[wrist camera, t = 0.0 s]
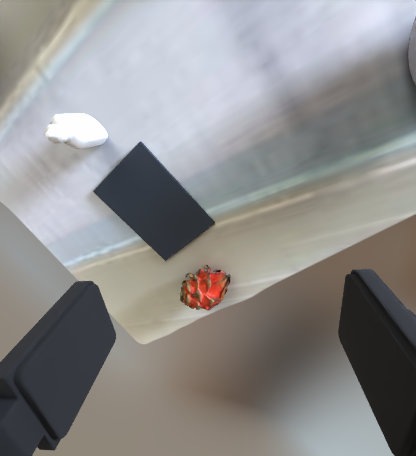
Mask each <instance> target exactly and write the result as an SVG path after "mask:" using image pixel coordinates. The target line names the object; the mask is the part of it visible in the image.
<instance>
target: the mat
mask: <svg viewBox="0 0 416 456" xmlns="http://www.w3.org/2000/svg"><path fill="white" fill-rule="evenodd" d="M93 192H94V193H95V194H96V195H97V196H98V197H99V198H100V199H101V200H102V201H104V202H105V203H106V204H107V205H108V206H109V207H110V208H111V209H112V210H113V211H114V212H115V213H116V214H117V215H118V216H119V217H120V218H121V219H122V220H123V221H124V222H125V223H127V224H128V225H129V226H130V227H131V228H132V229H133V230H134V231H135V232H136V233H137V234H138V235H139V236H140V237H141V238H142V239H143V240H144V241H145V242H146V243H147V244H148V245H149V246H151V247H152V248H153V249H154V250H155V251H156V252H157V253H158V254H159V255H160V256H161V257H162V258H163V259H164V260H165V261H166V260H167V259H168V258H170V257H171V256H172V255H174V254H175V253H176V252H178V251H179V250H180V249H182V248H183V247H184V246H185V245H187V244H188V243H189V242H191V241H192V240H193V239H195V238H196V237H197V236H199V235H200V234H201V233H203V232H204V231H205V230H207V229H208V228H209V227H211V226H212V225H213V224H214V223H215V222H214V221H213V220H212V219H211V218H210V217H209V216H208V214H207V213H206V212H205V211H204V210H203V209H202V208H201V207H200V206H199V205H198V203H197V202H196V201H195V200H194V199H193V198H192V197H191V196H190V195H189V194H188V192H187V191H186V190H185V189H184V188H183V187H182V186H181V185H180V184H179V183H178V181H177V180H176V179H175V178H174V177H173V176H172V175H171V174H170V173H169V172H168V171H167V169H166V168H165V167H164V166H163V165H162V164H161V163H160V162H159V161H158V160H157V158H156V157H155V156H154V155H153V154H152V153H151V152H150V151H149V150H148V149H147V147H146V146H145V145H144V144H143V143H142V142H139V144H138V145H137V146H136V147H135V148H134V149H133V150H132V151H131V152H130V153H129V154H128V155H127V156H126V157H125V158H124V159H123V160H122V161H121V163H120V164H119V165H118V166H117V167H116V168H115V169H114V170H113V171H112V172H111V173H110V174H109V175H108V176H107V177H106V178H105V179H104V180H103V181H102V183H101V184H100V185H99V186H98V187H97V188H96V189H95V190H94V191H93Z"/></svg>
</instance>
